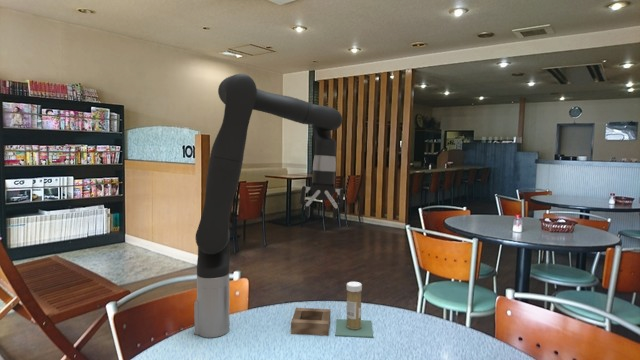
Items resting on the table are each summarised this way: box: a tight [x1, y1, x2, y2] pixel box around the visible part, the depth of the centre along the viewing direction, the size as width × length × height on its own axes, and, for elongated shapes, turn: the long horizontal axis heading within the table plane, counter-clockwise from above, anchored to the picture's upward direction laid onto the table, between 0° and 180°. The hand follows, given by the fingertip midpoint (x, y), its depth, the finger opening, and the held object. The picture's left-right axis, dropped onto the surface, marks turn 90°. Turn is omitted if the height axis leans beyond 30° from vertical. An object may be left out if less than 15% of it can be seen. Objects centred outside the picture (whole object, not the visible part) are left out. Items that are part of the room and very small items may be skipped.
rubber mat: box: [334, 318, 374, 339], centre depth 119 cm, size 11×11×1 cm
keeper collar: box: [290, 307, 331, 337], centre depth 119 cm, size 11×11×4 cm
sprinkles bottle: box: [346, 281, 363, 330], centre depth 118 cm, size 5×5×14 cm
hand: (320, 218), depth 130 cm, fingers open, 8 cm apart
